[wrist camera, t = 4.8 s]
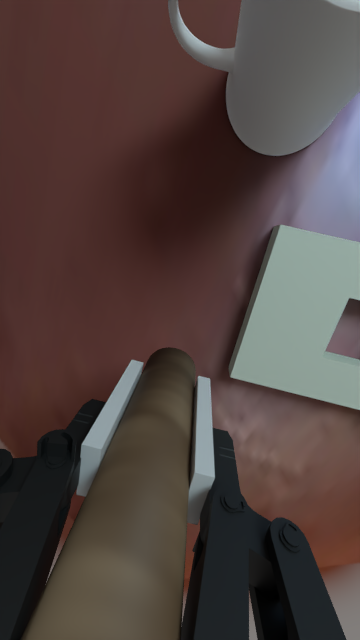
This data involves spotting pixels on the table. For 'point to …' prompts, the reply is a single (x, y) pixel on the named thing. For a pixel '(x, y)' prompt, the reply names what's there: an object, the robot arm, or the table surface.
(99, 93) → the table surface
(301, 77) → the mug
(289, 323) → the socket board
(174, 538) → the peg
